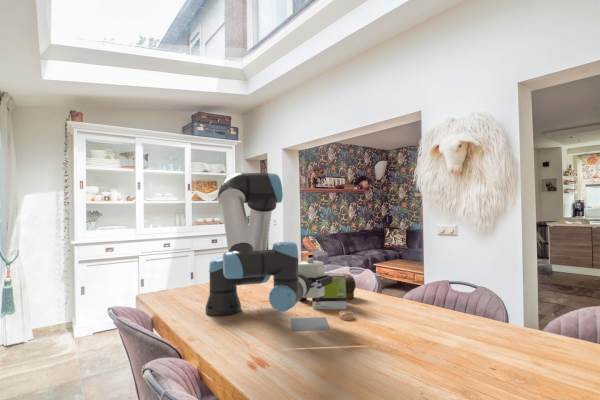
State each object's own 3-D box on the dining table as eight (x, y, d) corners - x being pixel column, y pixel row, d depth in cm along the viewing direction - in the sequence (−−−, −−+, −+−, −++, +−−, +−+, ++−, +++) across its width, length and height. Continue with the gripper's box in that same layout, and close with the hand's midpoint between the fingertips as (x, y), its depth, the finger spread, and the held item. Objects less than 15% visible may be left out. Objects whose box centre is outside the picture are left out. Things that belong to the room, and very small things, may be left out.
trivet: (291, 332, 118) (291, 331, 118) (290, 319, 132) (290, 318, 132) (330, 330, 119) (330, 329, 119) (325, 318, 133) (325, 317, 133)
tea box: (345, 303, 153) (344, 271, 153) (346, 309, 143) (346, 275, 143) (312, 303, 154) (312, 271, 154) (311, 309, 144) (311, 275, 144)
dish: (340, 321, 128) (340, 314, 128) (338, 316, 134) (338, 310, 134) (354, 321, 128) (354, 314, 128) (351, 316, 134) (351, 310, 134)
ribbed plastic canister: (298, 298, 120) (298, 260, 121) (297, 291, 130) (297, 256, 131) (325, 297, 121) (324, 259, 121) (322, 290, 131) (321, 256, 131)
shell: (331, 300, 158) (330, 275, 158) (335, 295, 168) (335, 271, 168) (354, 302, 154) (353, 276, 155) (357, 296, 165) (356, 272, 165)
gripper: (264, 297, 112) (286, 283, 133) (331, 301, 105) (343, 285, 126) (263, 274, 112) (285, 264, 133) (330, 277, 105) (342, 266, 126)
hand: (313, 274), depth 130 cm, fingers closed on ribbed plastic canister, 10 cm apart
